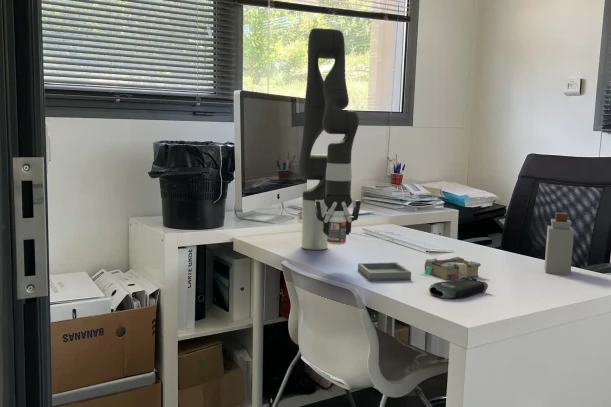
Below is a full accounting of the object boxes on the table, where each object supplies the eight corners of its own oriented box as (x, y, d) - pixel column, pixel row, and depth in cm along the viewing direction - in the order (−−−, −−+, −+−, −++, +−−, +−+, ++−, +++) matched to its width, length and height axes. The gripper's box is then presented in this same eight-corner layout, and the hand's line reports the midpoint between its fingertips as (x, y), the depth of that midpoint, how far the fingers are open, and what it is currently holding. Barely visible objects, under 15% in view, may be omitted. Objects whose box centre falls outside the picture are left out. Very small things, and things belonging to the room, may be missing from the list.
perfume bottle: (568, 270, 177) (572, 212, 175) (570, 275, 171) (575, 215, 169) (544, 268, 179) (548, 211, 177) (545, 273, 173) (550, 213, 171)
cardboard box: (434, 285, 158) (435, 267, 157) (408, 274, 169) (409, 258, 168) (490, 278, 166) (491, 261, 166) (462, 269, 177) (463, 253, 176)
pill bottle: (344, 245, 168) (345, 212, 167) (325, 244, 170) (326, 211, 168) (346, 241, 174) (348, 209, 173) (328, 240, 175) (329, 208, 174)
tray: (357, 270, 170) (358, 263, 170) (396, 269, 173) (396, 262, 172) (369, 281, 159) (370, 273, 158) (410, 280, 161) (411, 272, 161)
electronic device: (456, 290, 157) (420, 291, 148) (461, 271, 157) (426, 271, 147) (484, 303, 150) (449, 305, 141) (490, 283, 149) (454, 283, 140)
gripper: (358, 177, 174) (356, 231, 176) (312, 176, 171) (310, 232, 174) (365, 179, 167) (363, 236, 169) (317, 179, 164) (315, 237, 166)
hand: (336, 234), depth 171 cm, fingers closed on pill bottle, 5 cm apart
